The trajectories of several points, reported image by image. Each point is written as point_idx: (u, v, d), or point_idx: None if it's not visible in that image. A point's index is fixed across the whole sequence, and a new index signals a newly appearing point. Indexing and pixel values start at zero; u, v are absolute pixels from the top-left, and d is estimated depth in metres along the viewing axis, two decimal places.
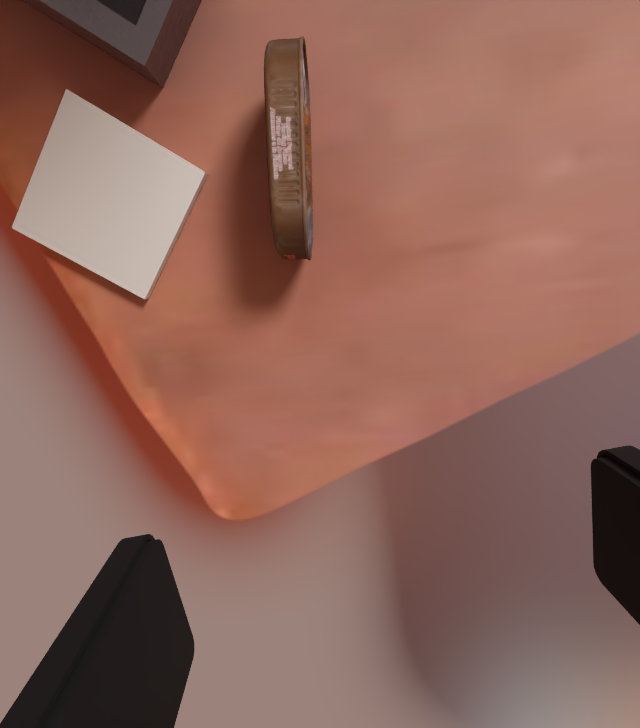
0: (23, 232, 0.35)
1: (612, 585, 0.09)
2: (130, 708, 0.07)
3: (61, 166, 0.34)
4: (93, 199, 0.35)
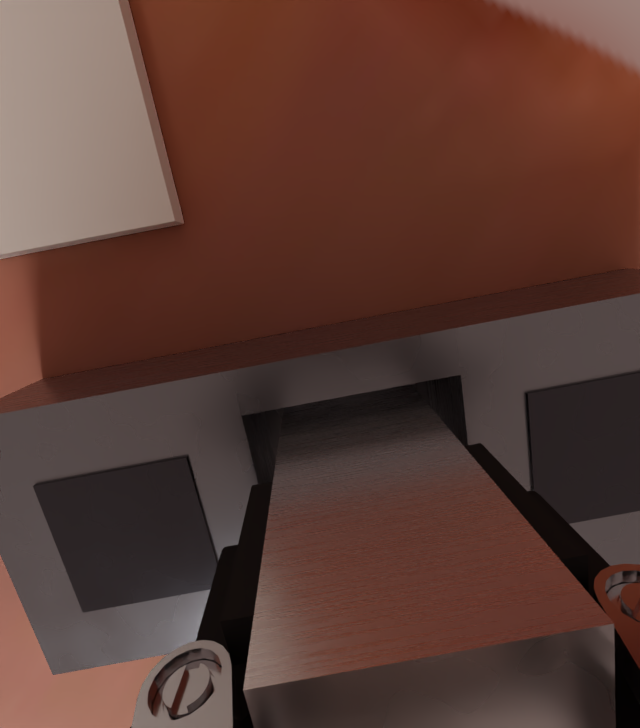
0: None
1: None
2: None
3: (51, 15, 0.11)
4: None
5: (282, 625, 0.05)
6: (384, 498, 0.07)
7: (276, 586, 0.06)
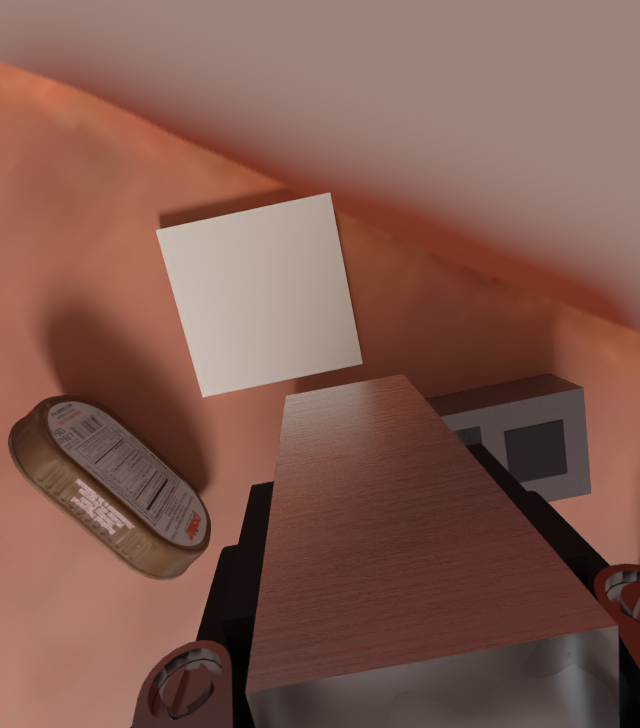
0: (316, 197, 0.28)
1: None
2: None
3: (323, 294, 0.30)
4: (275, 288, 0.29)
5: (284, 627, 0.05)
6: (386, 498, 0.07)
7: (278, 588, 0.06)
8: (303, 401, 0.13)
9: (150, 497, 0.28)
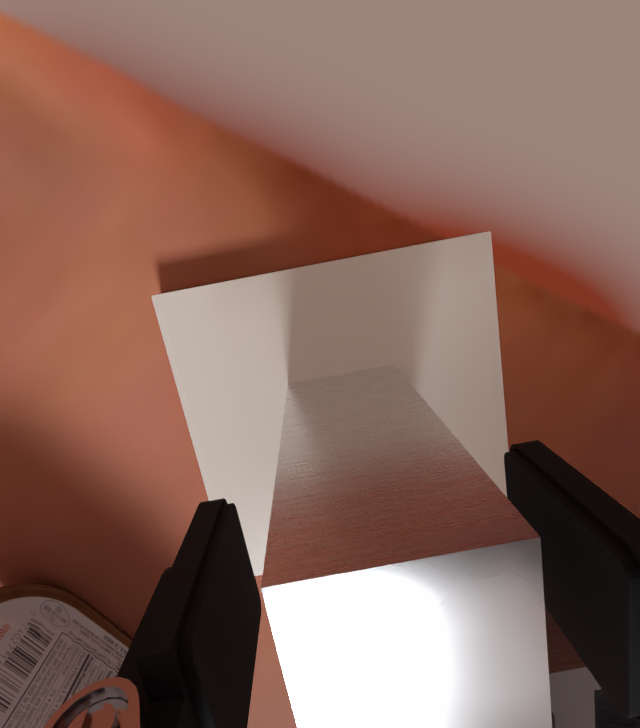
0: (463, 240, 0.15)
1: None
2: (228, 643, 0.07)
3: (459, 414, 0.16)
4: None
5: (289, 548, 0.07)
6: (373, 460, 0.09)
7: (284, 523, 0.07)
8: (303, 388, 0.15)
9: None
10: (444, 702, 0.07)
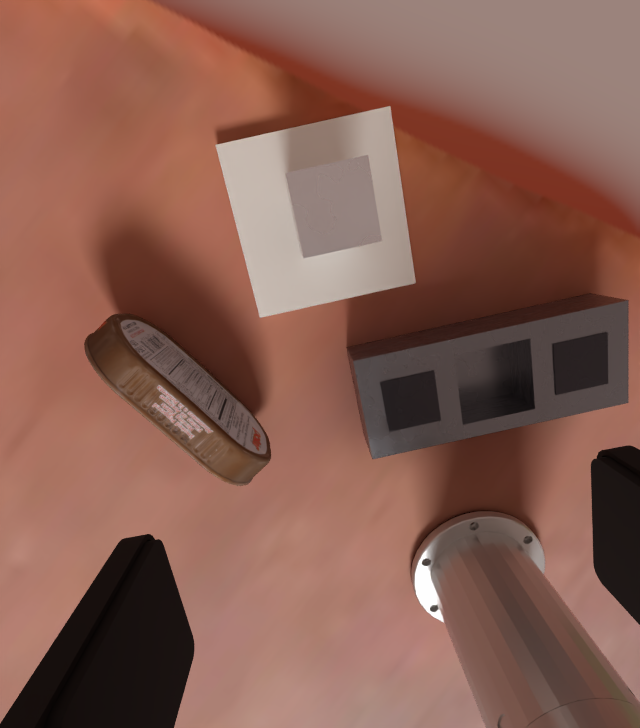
0: (376, 111, 0.28)
1: (612, 585, 0.09)
2: (130, 708, 0.07)
3: (380, 212, 0.30)
4: None
5: None
6: None
7: None
8: None
9: (217, 409, 0.29)
10: (344, 221, 0.21)
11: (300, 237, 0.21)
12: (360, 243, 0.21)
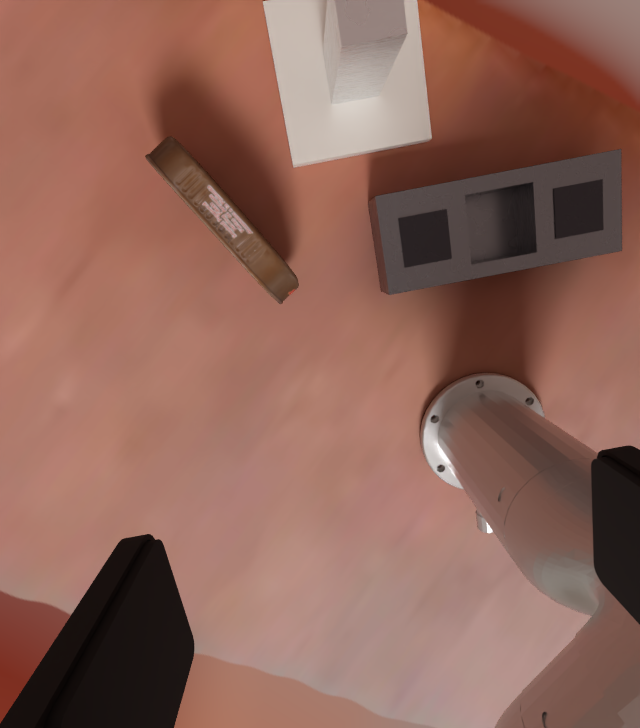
0: None
1: (612, 585, 0.09)
2: (130, 708, 0.07)
3: (402, 70, 0.34)
4: None
5: None
6: None
7: None
8: None
9: None
10: (376, 13, 0.25)
11: (339, 26, 0.25)
12: (389, 35, 0.25)
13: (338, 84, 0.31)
